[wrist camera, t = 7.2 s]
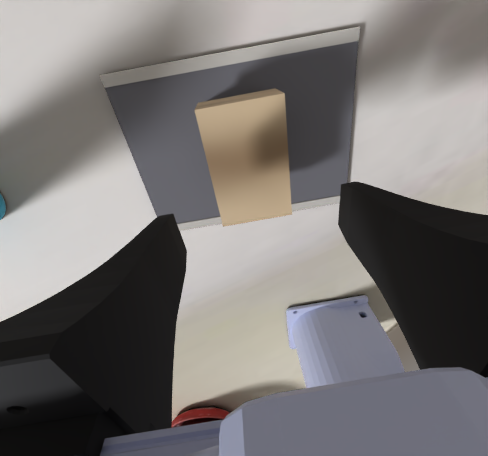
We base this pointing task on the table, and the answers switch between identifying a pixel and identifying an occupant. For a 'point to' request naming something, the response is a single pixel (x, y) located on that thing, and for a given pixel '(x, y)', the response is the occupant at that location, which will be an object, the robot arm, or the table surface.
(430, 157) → the table surface
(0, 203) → the tube
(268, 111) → the stool
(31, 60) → the table surface
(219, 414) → the plant pot
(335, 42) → the mat
